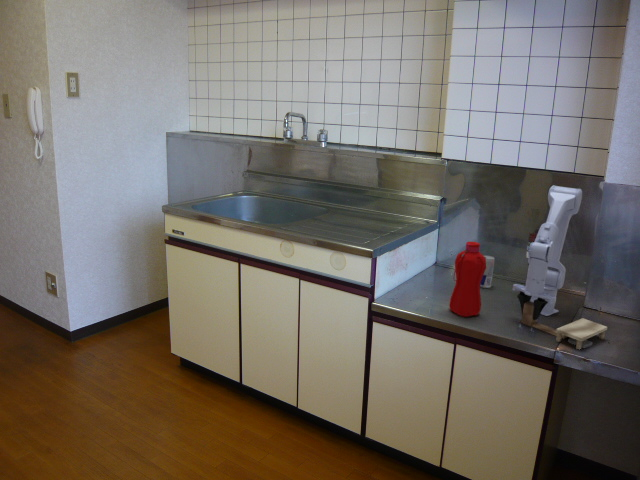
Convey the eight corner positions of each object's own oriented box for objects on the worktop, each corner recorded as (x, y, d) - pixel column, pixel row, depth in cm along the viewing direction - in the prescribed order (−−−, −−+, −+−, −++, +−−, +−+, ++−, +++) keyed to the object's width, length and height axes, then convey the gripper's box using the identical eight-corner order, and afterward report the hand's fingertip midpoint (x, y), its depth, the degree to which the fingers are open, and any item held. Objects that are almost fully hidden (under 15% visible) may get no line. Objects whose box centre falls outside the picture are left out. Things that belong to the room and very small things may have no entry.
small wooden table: (554, 340, 170) (556, 328, 169) (580, 329, 179) (582, 318, 178) (579, 350, 164) (581, 338, 162) (605, 338, 173) (607, 326, 172)
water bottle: (441, 309, 190) (449, 240, 183) (466, 305, 194) (475, 238, 188) (457, 319, 182) (466, 247, 175) (483, 315, 186) (493, 245, 180)
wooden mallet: (521, 322, 182) (524, 303, 180) (527, 320, 184) (530, 301, 182) (562, 339, 171) (566, 318, 169) (568, 336, 173) (572, 316, 171)
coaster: (567, 343, 169) (568, 339, 169) (576, 340, 172) (577, 336, 172) (582, 350, 165) (583, 345, 165) (591, 346, 168) (592, 342, 168)
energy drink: (476, 283, 219) (479, 254, 216) (489, 284, 218) (493, 255, 215) (477, 287, 214) (481, 258, 211) (491, 289, 213) (496, 259, 210)
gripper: (509, 273, 181) (503, 311, 184) (550, 286, 170) (543, 327, 173) (521, 270, 185) (516, 307, 188) (562, 283, 174) (555, 322, 177)
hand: (529, 316), depth 181 cm, fingers closed on wooden mallet, 3 cm apart
